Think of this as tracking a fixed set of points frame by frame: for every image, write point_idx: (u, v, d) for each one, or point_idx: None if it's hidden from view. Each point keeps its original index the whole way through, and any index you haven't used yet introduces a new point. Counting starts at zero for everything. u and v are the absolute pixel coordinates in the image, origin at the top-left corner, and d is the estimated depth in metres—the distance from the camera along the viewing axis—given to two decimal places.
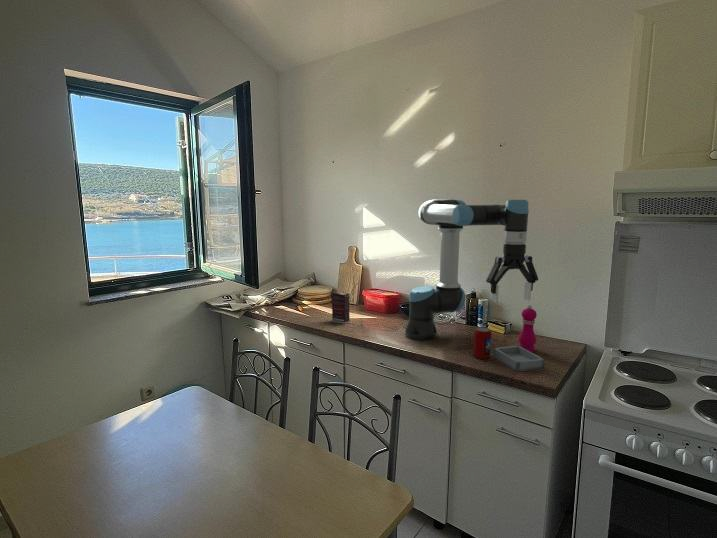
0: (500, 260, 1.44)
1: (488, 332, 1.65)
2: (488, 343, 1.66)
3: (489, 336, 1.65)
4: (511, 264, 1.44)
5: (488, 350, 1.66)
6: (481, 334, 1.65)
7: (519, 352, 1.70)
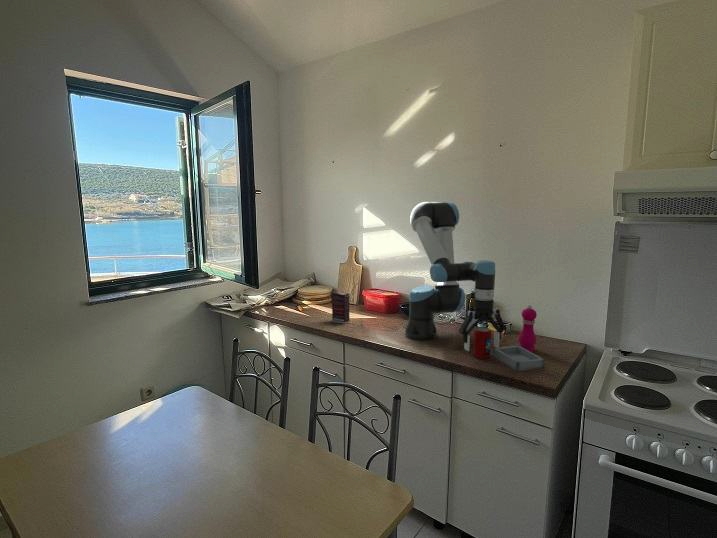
0: (471, 314, 1.64)
1: (488, 332, 1.65)
2: (488, 343, 1.66)
3: (489, 336, 1.65)
4: (481, 317, 1.64)
5: (488, 350, 1.66)
6: (481, 334, 1.65)
7: (519, 352, 1.70)
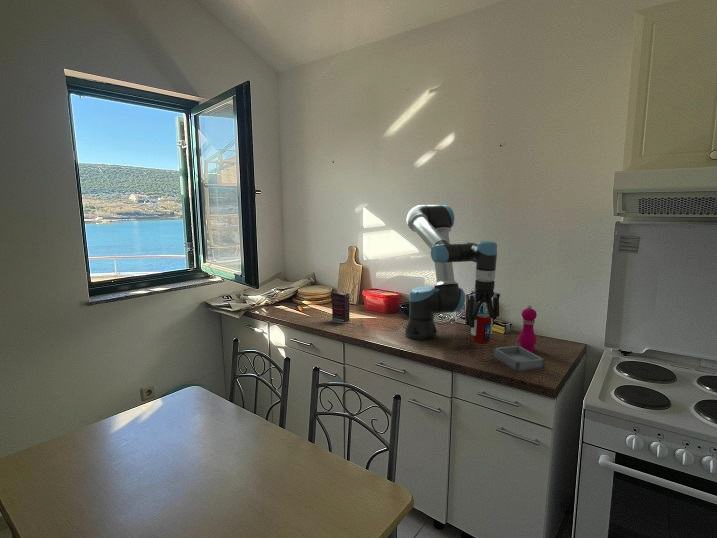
0: (472, 298, 1.63)
1: (488, 318, 1.65)
2: (488, 329, 1.65)
3: (489, 322, 1.65)
4: (482, 299, 1.64)
5: (487, 336, 1.66)
6: (481, 319, 1.65)
7: (519, 352, 1.70)
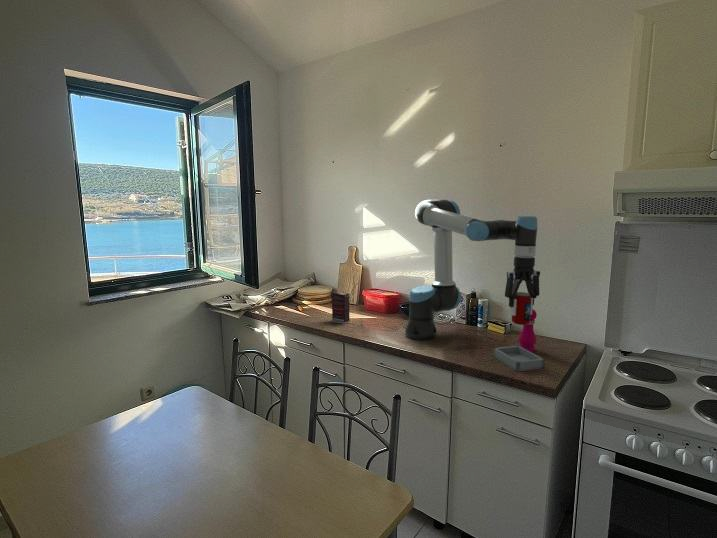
0: (511, 275, 1.55)
1: (528, 296, 1.57)
2: (528, 308, 1.57)
3: (529, 301, 1.57)
4: (522, 276, 1.56)
5: (528, 316, 1.58)
6: (521, 298, 1.57)
7: (519, 352, 1.70)
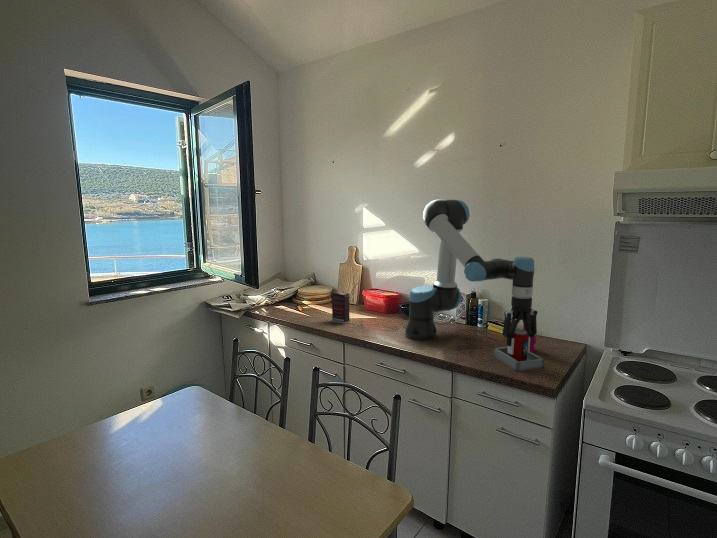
0: (509, 315, 1.58)
1: (525, 335, 1.59)
2: (526, 346, 1.60)
3: (526, 339, 1.59)
4: (519, 316, 1.59)
5: (525, 353, 1.60)
6: (518, 337, 1.59)
7: None
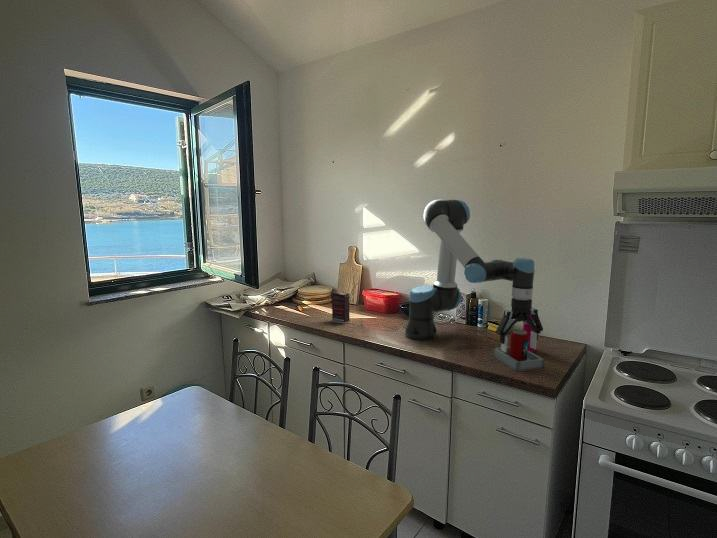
0: (508, 314, 1.58)
1: (525, 335, 1.59)
2: (526, 346, 1.60)
3: (526, 339, 1.59)
4: (518, 317, 1.59)
5: (525, 353, 1.60)
6: (518, 336, 1.59)
7: None
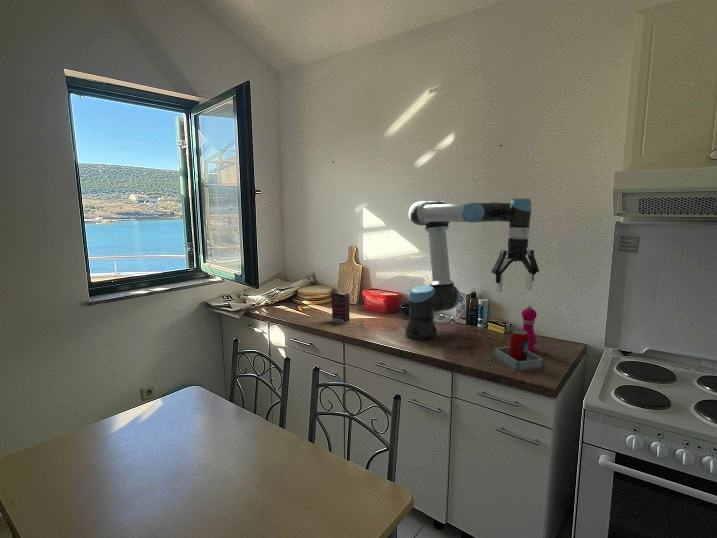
0: (504, 253, 1.59)
1: (525, 335, 1.59)
2: (526, 346, 1.60)
3: (526, 339, 1.59)
4: (514, 257, 1.60)
5: (525, 353, 1.60)
6: (518, 336, 1.59)
7: None
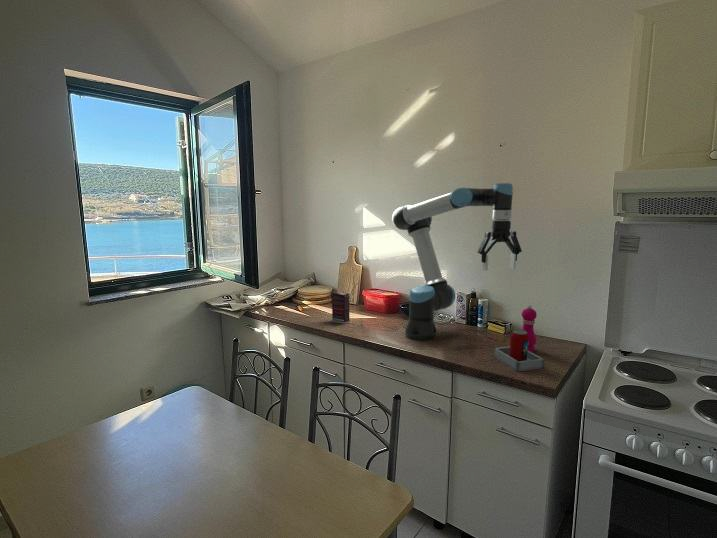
0: (489, 234, 1.71)
1: (525, 335, 1.59)
2: (526, 346, 1.60)
3: (526, 339, 1.59)
4: (498, 237, 1.72)
5: (525, 353, 1.60)
6: (518, 336, 1.59)
7: None
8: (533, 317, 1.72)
